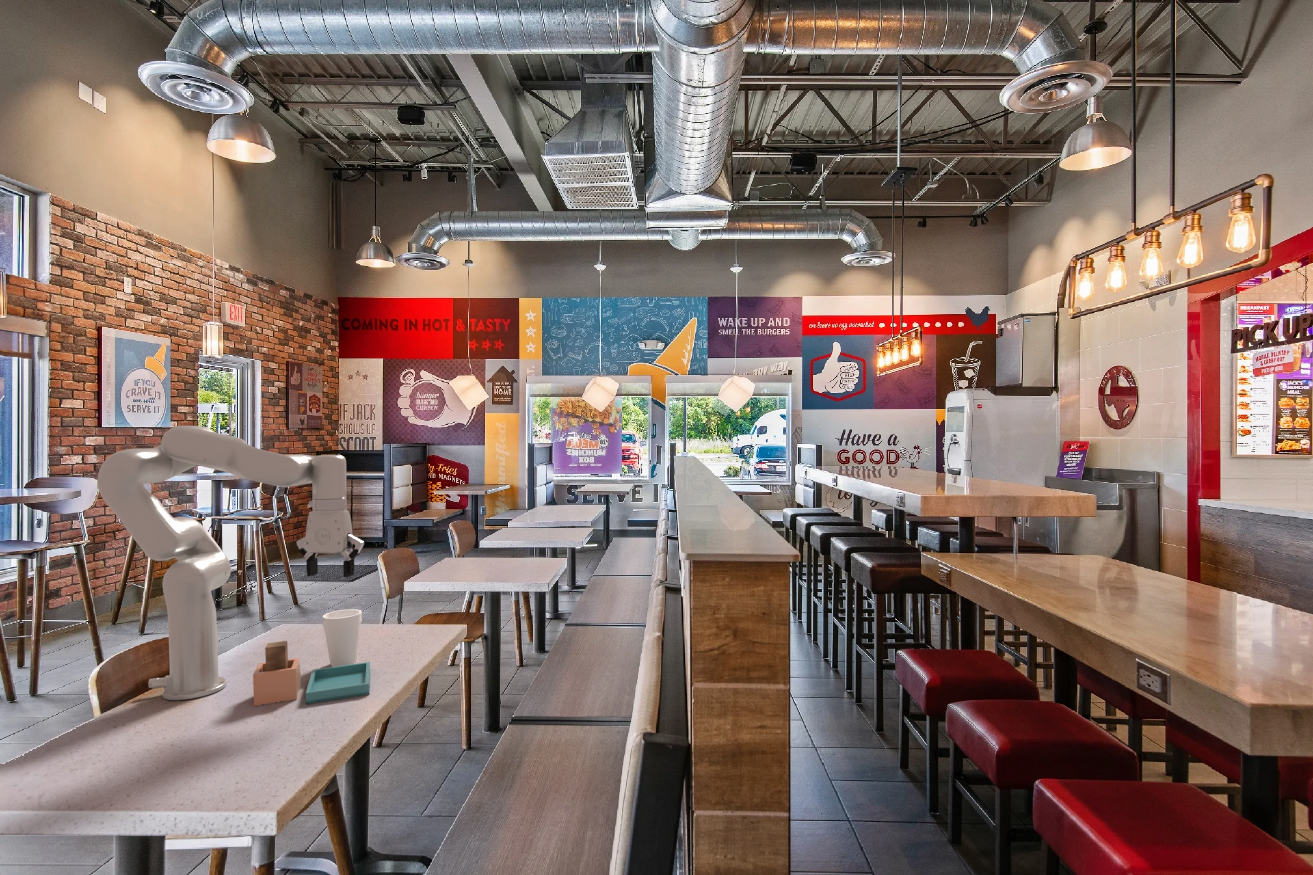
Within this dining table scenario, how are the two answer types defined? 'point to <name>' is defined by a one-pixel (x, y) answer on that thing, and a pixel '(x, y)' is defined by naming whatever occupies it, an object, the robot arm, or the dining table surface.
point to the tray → (338, 682)
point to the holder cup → (276, 683)
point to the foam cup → (342, 635)
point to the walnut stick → (276, 656)
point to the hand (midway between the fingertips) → (330, 575)
